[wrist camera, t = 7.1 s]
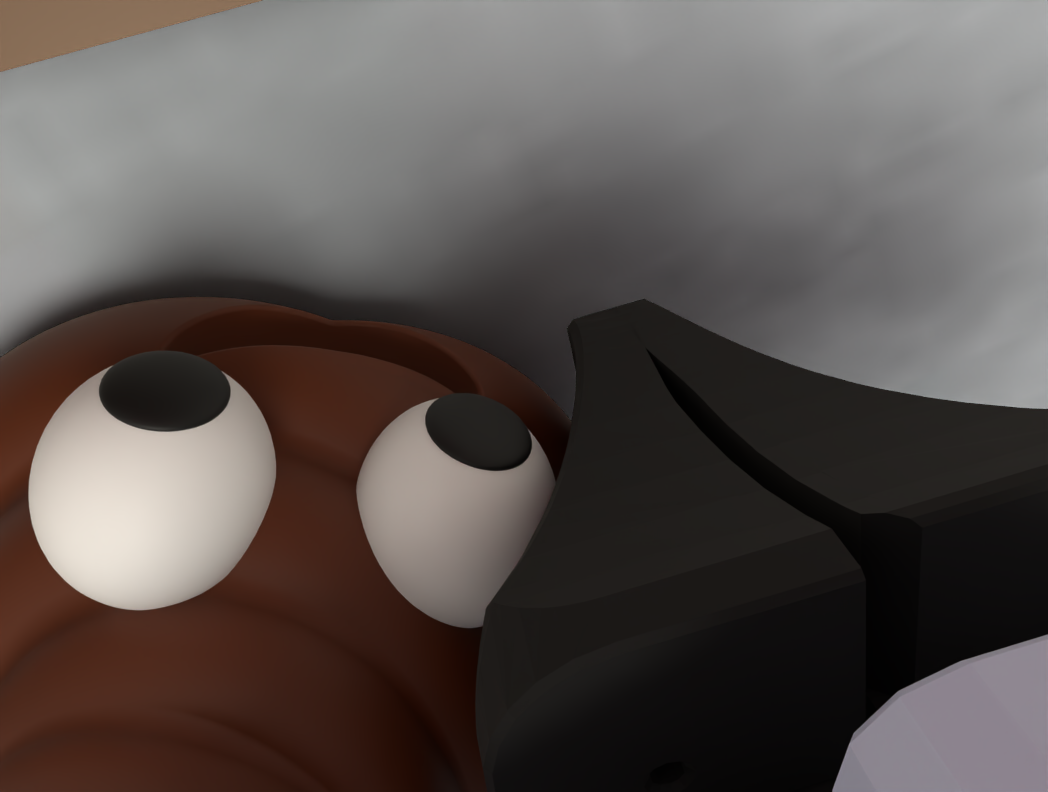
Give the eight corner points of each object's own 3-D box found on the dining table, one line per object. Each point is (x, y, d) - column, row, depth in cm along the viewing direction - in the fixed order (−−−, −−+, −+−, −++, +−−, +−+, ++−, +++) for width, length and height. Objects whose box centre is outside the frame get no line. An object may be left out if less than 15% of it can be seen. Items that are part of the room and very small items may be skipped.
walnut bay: (586, 651, 17) (652, 859, 13) (-77, 852, 17) (-194, 1124, 13) (361, -168, 9) (373, -195, 6) (-867, 161, 9) (-1678, 350, 5)
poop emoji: (-41, 663, 14) (-504, 1607, 7) (-71, 174, 10) (-1324, 1068, 3) (521, 687, 17) (669, 1365, 9) (663, 310, 13) (1122, 933, 5)
